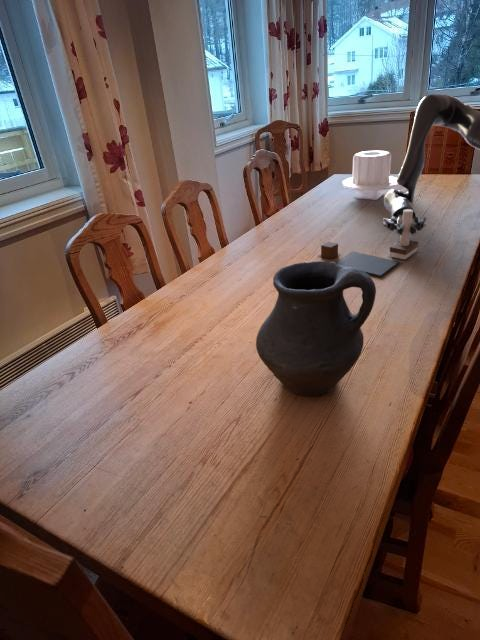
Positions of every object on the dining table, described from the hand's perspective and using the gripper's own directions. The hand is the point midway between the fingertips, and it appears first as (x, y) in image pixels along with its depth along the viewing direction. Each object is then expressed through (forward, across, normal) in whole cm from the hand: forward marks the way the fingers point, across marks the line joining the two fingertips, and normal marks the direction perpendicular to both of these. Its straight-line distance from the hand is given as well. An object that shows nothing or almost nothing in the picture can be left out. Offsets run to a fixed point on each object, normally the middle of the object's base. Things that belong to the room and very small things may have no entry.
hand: (407, 231), depth 132 cm
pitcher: (+65, -23, +8) cm, 69 cm away
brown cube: (-2, -23, +9) cm, 25 cm away
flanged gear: (-75, -9, +10) cm, 76 cm away
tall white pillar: (-3, 0, +8) cm, 9 cm away
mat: (+6, -12, +9) cm, 16 cm away
